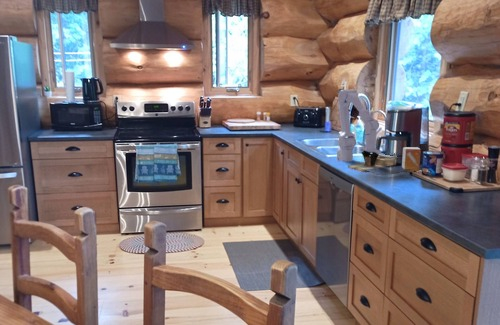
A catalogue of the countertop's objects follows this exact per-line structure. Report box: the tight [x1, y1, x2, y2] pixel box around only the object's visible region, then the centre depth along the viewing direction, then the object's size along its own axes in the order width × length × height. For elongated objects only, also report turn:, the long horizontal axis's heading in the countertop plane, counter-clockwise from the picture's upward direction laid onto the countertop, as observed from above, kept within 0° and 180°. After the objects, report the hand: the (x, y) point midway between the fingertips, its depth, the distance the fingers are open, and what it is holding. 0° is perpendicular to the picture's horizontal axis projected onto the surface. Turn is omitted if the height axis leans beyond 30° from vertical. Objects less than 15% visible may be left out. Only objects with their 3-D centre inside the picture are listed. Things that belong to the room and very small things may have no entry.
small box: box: [401, 146, 421, 173], centre depth 249 cm, size 8×6×13 cm
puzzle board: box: [347, 156, 397, 173], centre depth 258 cm, size 13×25×5 cm, turn 121°
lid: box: [379, 152, 398, 158], centre depth 264 cm, size 8×7×3 cm
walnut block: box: [364, 156, 375, 167], centre depth 257 cm, size 4×4×6 cm
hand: (369, 164), depth 257 cm, fingers closed on walnut block, 4 cm apart
